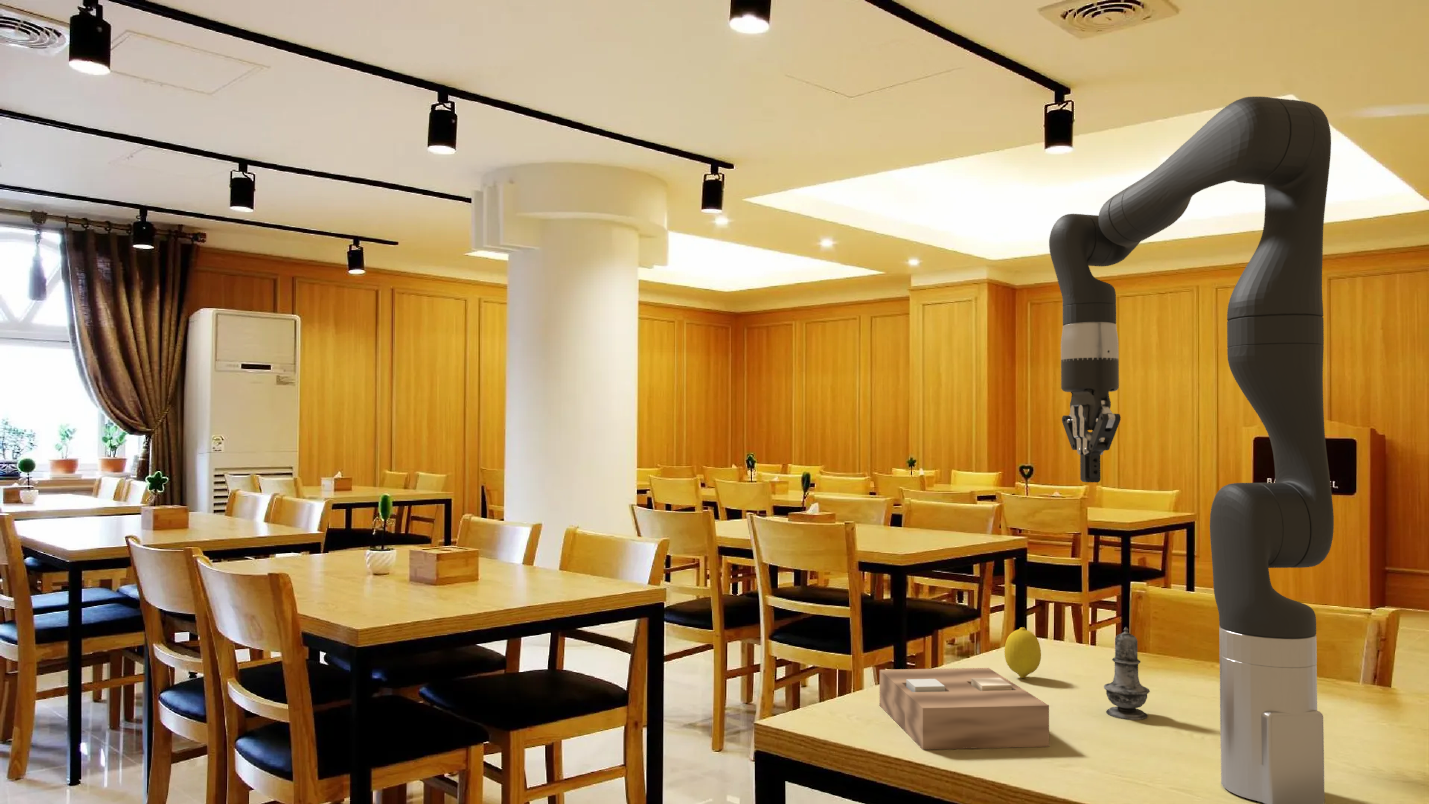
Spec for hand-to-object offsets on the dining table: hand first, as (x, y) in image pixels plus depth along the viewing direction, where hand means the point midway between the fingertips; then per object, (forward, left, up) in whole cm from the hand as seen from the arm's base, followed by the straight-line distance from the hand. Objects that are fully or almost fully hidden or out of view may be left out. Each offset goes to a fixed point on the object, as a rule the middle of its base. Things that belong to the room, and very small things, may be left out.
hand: (1090, 481), depth 138 cm
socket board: (-3, +20, -32) cm, 38 cm away
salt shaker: (0, -5, -32) cm, 33 cm away
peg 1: (-3, +25, -31) cm, 40 cm away
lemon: (+21, +1, -32) cm, 38 cm away
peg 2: (-3, +16, -31) cm, 35 cm away
